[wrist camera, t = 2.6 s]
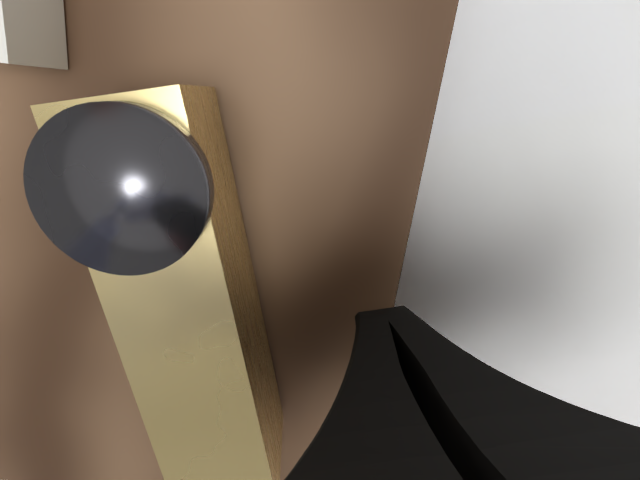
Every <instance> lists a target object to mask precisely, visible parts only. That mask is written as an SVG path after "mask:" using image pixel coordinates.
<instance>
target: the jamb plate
mask: <svg viewBox="0 0 640 480" xmlns="http://www.w3.org/2000/svg"><path fill="white" fill-rule="evenodd" d="M458 1H459V0H63V3H64V17H65V31H66V46H67V60H68V70H65V69H55V68H45V67H35V66H26V65H16V64H7V63H0V480H164V478H163V475H162V472H161V470H160V467H159V464H158V461H157V459H156V456H155V453H154V450H153V447H152V445H151V442H150V439H149V436H148V433H147V431H146V428H145V425H144V422H143V420H142V417H141V414H140V411H139V408H138V406H137V403H136V400H135V397H134V394H133V392H132V389H131V386H130V383H129V380H128V378H127V375H126V372H125V369H124V367H123V364H122V361H121V358H120V355H119V353H118V350H117V347H116V344H115V341H114V339H113V336H112V333H111V330H110V327H109V325H108V322H107V319H106V316H105V314H104V311H103V308H102V305H101V302H100V300H99V297H98V294H97V291H96V288H95V286H94V283H93V280H92V277H91V275H90V272H89V269H88V267H87V266H85V265H83V264H81V263H79V262H77V261H75V260H74V259H72V258H71V257H69V256H68V255H66V254H65V253H64V252H63V251H61V250H60V249H59V248H58V247H56V246H55V244H54V243H53V242H52V241H51V240H50V239H49V238H48V237H47V236H46V235H45V233H44V232H43V231H42V230H41V228H40V227H39V225H38V223H37V222H36V220H35V218H34V216H33V214H32V212H31V210H30V208H29V205H28V202H27V198H26V195H25V189H24V180H23V170H24V161H25V157H26V153H27V150H28V148H29V145H30V143H31V141H32V139H33V137H34V136H35V134H36V133H37V131H38V130H39V129H38V127H37V124H36V121H35V118H34V116H33V113H32V110H31V107H30V105H37V104H44V103H51V102H58V101H65V100H72V99H79V98H86V97H93V96H100V95H108V94H115V93H122V92H129V91H136V90H143V89H150V88H157V87H164V86H171V85H178V84H182V85H195V86H208V87H215V88H216V92H217V97H218V102H219V107H220V112H221V117H222V121H223V126H224V131H225V136H226V141H227V145H228V150H229V155H230V160H231V165H232V170H233V174H234V179H235V184H236V189H237V194H238V198H239V203H240V208H241V213H242V218H243V223H244V227H245V232H246V237H247V242H248V247H249V251H250V256H251V261H252V266H253V271H254V275H255V280H256V285H257V290H258V295H259V300H260V304H261V309H262V314H263V319H264V324H265V328H266V333H267V338H268V343H269V348H270V353H271V357H272V362H273V367H274V372H275V377H276V381H277V386H278V391H279V396H280V401H281V406H282V410H283V431H282V451H281V471H280V480H284V479H285V478H286V477H287V476H288V474H289V473H290V472H291V470H292V469H293V468H294V466H295V465H296V463H297V462H298V460H299V459H300V458H301V456H302V455H303V453H304V452H305V450H306V449H307V448H308V446H309V445H310V443H311V442H312V440H313V439H314V437H315V436H316V434H317V432H318V431H319V429H320V427H321V425H322V423H323V422H324V420H325V418H326V416H327V414H328V412H329V411H330V409H331V407H332V404H333V402H334V400H335V398H336V396H337V394H338V391H339V389H340V386H341V384H342V381H343V379H344V376H345V373H346V370H347V367H348V364H349V360H350V357H351V353H352V348H353V344H354V339H355V332H356V323H355V316H356V314H357V313H358V312H363V311H370V310H377V309H384V308H391V307H394V303H395V298H396V294H397V289H398V284H399V279H400V275H401V270H402V265H403V261H404V256H405V251H406V246H407V242H408V237H409V232H410V228H411V223H412V218H413V213H414V209H415V204H416V199H417V195H418V190H419V185H420V180H421V176H422V171H423V166H424V162H425V157H426V152H427V147H428V143H429V138H430V133H431V129H432V124H433V119H434V114H435V110H436V105H437V100H438V96H439V91H440V86H441V82H442V77H443V72H444V67H445V63H446V58H447V53H448V49H449V44H450V39H451V34H452V30H453V25H454V20H455V16H456V11H457V6H458Z"/></svg>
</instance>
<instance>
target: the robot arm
mask: <svg viewBox="0 0 640 480" xmlns="http://www.w3.org/2000/svg"><path fill="white" fill-rule="evenodd" d="M355 323H356V332H355V339H354V344H353V348H352V353H351V357H350V360H349V364H348V367H347V370H346V373H345V376H344V379H343V381H342V384H341V386H340V389H339V391H338V394H337V396H336V398H335V400H334V402H333V404H332V407H331V409H330V411H329V412H328V414H327V416H326V418H325V420H324V422H323V423H322V425H321V427H320V429H319V431H318V432H317V434H316V436H315V437H314V439H313V440H312V442H311V443H310V445H309V446H308V448H307V449H306V450H305V452H304V453H303V455H302V456H301V458H300V459H299V460H298V462H297V463H296V465H295V466H294V468H293V469H292V470H291V472H290V473H289V474H288V476H287V477H286V478H285V479H284V480H640V427H637V426H633V425H630V424H627V423H624V422H621V421H618V420H615V419H612V418H609V417H606V416H603V415H600V414H597V413H594V412H591V411H588V410H586V409H583V408H580V407H578V406H575V405H572V404H570V403H567V402H565V401H562V400H560V399H557V398H555V397H553V396H550V395H548V394H546V393H543V392H541V391H538V390H536V389H534V388H532V387H530V386H527V385H525V384H523V383H521V382H519V381H517V380H515V379H513V378H511V377H509V376H507V375H505V374H503V373H501V372H500V371H498V370H496V369H494V368H492V367H490V366H488V365H487V364H485V363H483V362H482V361H480V360H478V359H477V358H475V357H473V356H472V355H470V354H469V353H467V352H465V351H464V350H462V349H461V348H459V347H458V346H456V345H455V344H453V343H452V342H450V341H449V340H448V339H446V338H445V337H443V336H442V335H441V334H439V333H438V332H437V331H435V330H434V329H433V328H431V327H430V326H429V325H428V324H426V323H425V322H424V321H423V320H421V319H420V318H419V317H418V316H416V315H415V314H414V313H413V312H411V311H410V310H409V309H407V308H406V307H405V306H398V307H391V308H384V309H377V310H370V311H363V312H358V313H357V314H356V316H355Z"/></svg>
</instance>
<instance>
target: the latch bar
mask: <svg viewBox="0 0 640 480" xmlns="http://www.w3.org/2000/svg"><path fill="white" fill-rule="evenodd" d="M30 107H31V110H32V113H33V116H34V118H35V121H36V124H37V127H38V129H39V130H38V131H37V133H36V134H35V136H34V137H33V139H32V141H31V143H30V145H29V148H28V150H27V153H26V157H25V161H24V170H23V180H24V189H25V195H26V198H27V202H28V205H29V208H30V210H31V212H32V214H33V216H34V218H35V220H36V222H37V223H38V225H39V227H40V228H41V230H42V231H43V232H44V233H45V235H46V236H47V237H48V238H49V239H50V240H51V241H52V242H53V243H54V244H55V246H56V247H58V248H59V249H60V250H61V251H63V252H64V253H65V254H66V255H68V256H69V257H71V258H72V259H74V260H75V261H77V262H79V263H81V264H83V265H85V266H87V267H88V269H89V272H90V275H91V277H92V280H93V283H94V286H95V288H96V291H97V294H98V297H99V300H100V302H101V305H102V308H103V311H104V314H105V316H106V319H107V322H108V325H109V327H110V330H111V333H112V336H113V339H114V341H115V344H116V347H117V350H118V353H119V355H120V358H121V361H122V364H123V367H124V369H125V372H126V375H127V378H128V380H129V383H130V386H131V389H132V392H133V394H134V397H135V400H136V403H137V406H138V408H139V411H140V414H141V417H142V420H143V422H144V425H145V428H146V431H147V433H148V436H149V439H150V442H151V445H152V447H153V450H154V453H155V456H156V459H157V461H158V464H159V467H160V470H161V472H162V475H163V478H164V480H280V471H281V451H282V431H283V410H282V406H281V401H280V396H279V391H278V386H277V381H276V377H275V372H274V367H273V362H272V357H271V353H270V348H269V343H268V338H267V333H266V328H265V324H264V319H263V314H262V309H261V304H260V300H259V295H258V290H257V285H256V280H255V275H254V271H253V266H252V261H251V256H250V251H249V247H248V242H247V237H246V232H245V227H244V223H243V218H242V213H241V208H240V203H239V198H238V194H237V189H236V184H235V179H234V174H233V170H232V165H231V160H230V155H229V150H228V145H227V141H226V136H225V131H224V126H223V121H222V117H221V112H220V107H219V102H218V97H217V92H216V88H215V87H208V86H195V85H182V84H178V85H171V86H164V87H157V88H150V89H143V90H136V91H129V92H122V93H115V94H108V95H100V96H93V97H86V98H79V99H72V100H65V101H58V102H51V103H44V104H37V105H30Z"/></svg>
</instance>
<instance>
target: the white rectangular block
mask: <svg viewBox="0 0 640 480" xmlns="http://www.w3.org/2000/svg"><path fill="white" fill-rule="evenodd" d="M0 63H7V64H16V65H26V66H35V67H45V68H55V69H65V70H68V60H67V46H66V31H65V17H64V3H63V0H0Z"/></svg>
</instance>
